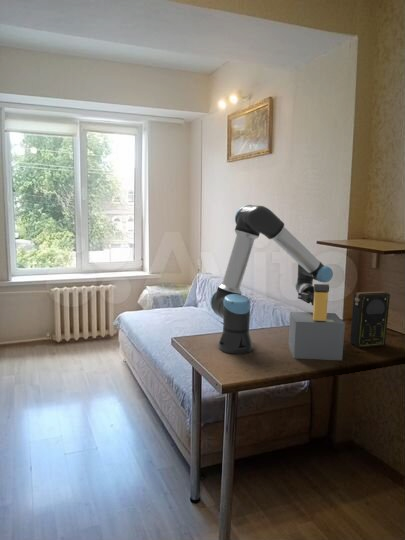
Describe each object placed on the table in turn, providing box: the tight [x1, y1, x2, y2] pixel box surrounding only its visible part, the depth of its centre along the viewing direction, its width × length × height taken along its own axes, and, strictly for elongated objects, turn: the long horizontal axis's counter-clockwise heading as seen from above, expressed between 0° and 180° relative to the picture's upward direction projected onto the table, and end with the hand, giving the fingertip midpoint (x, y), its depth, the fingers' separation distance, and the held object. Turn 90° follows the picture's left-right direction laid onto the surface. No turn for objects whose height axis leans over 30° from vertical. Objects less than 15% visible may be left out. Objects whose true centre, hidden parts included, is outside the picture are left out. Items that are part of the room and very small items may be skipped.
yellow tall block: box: [312, 283, 330, 321], centre depth 176 cm, size 6×3×15 cm, turn 87°
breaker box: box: [288, 311, 346, 361], centre depth 184 cm, size 20×16×16 cm
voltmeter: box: [349, 290, 391, 349], centre depth 196 cm, size 16×9×25 cm, turn 105°
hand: (320, 304), depth 178 cm, fingers closed
